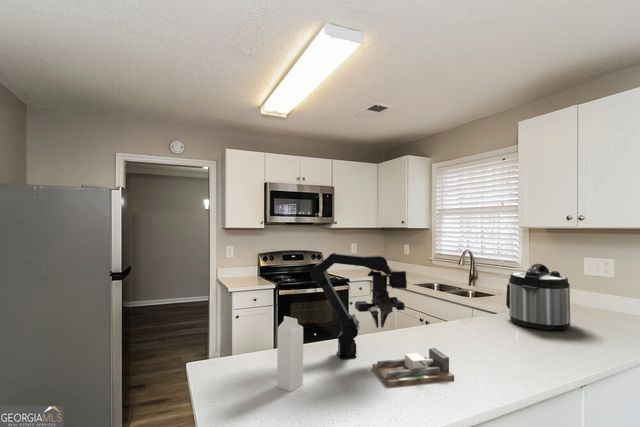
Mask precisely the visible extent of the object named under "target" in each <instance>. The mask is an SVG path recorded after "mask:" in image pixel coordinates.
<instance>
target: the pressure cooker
mask: <svg viewBox="0 0 640 427" xmlns="http://www.w3.org/2000/svg"><path fill="white" fill-rule="evenodd" d="M570 288H571V287H570V283H569V278H568V277H565V276H562V275H561V274H560V272H559V271H557V270H552V271H550V269H549V268H548V267H547V266H546V265H545V264H541V263H534V264H532V265H531V266H530V267H529V268H528V269H527V270H526V272H525V271H524V272H513V273H510V278H508V283H506V295H505V296H506V297H505V298H506V304H505V305H506V307H507V309H509V310H508V311H509V317H510V320H511V321H512V322H513V323H515V324H518V325H520V326H524V327H528V328H534V329H537V330H538V329H539V330H545V331H554V330H558V331H564V330H567V329H568V328H570V325H571V292H570V291H571V290H570Z"/></svg>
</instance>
